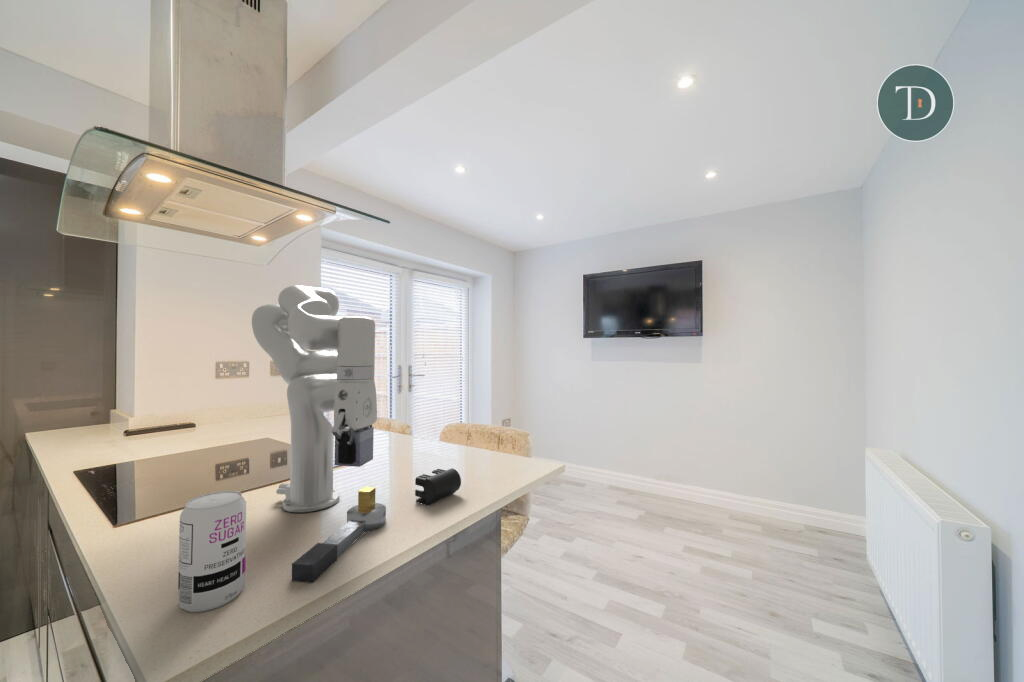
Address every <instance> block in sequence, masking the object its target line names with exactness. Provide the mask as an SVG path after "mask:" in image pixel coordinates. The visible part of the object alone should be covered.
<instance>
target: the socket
mask: <svg viewBox="0 0 1024 682" xmlns="http://www.w3.org/2000/svg"><path fill="white" fill-rule="evenodd" d="M346 429H350V428H349V427H346ZM374 430H375V429H374V426H372V427H365V428H362V429H360V430H355V431H354V436H353V442H352V444H354V463H353V464H340V463H338V444H337V440H336V438H335V437H334V462H333V466H341V467H342V466H343V467H356V468H357V467H358V468H360V467H362V466H364V465H366V464H367V463H369V462H370V461H373V460H374ZM344 433H345V434H346V435H347V436H348V434H349V432H344Z"/></svg>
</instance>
